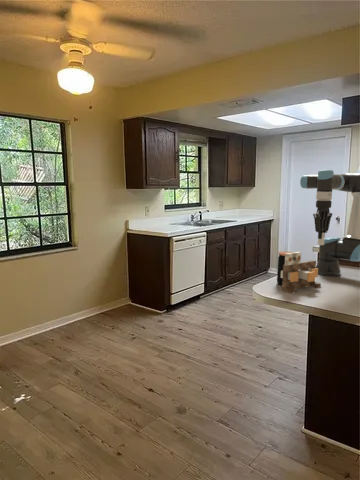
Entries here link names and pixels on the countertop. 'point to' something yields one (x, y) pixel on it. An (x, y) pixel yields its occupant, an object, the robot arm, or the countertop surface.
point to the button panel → (294, 265)
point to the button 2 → (314, 271)
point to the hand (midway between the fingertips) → (320, 244)
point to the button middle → (306, 275)
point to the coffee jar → (281, 265)
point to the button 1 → (291, 276)
